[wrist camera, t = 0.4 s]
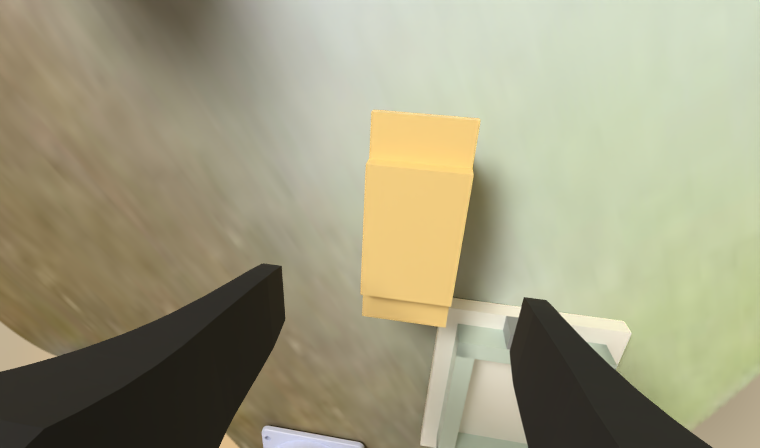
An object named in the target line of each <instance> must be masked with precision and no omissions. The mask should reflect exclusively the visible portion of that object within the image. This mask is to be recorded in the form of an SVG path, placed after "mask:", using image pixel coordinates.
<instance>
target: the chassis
mask: <svg viewBox="0 0 760 448" xmlns="http://www.w3.org/2000/svg"><path fill="white" fill-rule="evenodd" d="M520 310H521V307H518V306H510V305H503V304H496V303H488V302H481V301H473V300H466V299H459V298H453V299H452V304H451V307H449V310H448V316H447V322H446V328H445V327H437V333H436V340H435V346H434V353H433V359H432V365H431V372H430V378H429V384H428V391H427V397H426V403H425V410H424V416H423V422H422V429H421V441H420V445H423V446H428V447H434V448H528V445H527V441H526V437H525V433H524V429H523V425H522V421H521V416H520V412H519V408H518V404H517V400H516V396H515V391H514V387H513V380H512V372H511V362H510V348H511V344H512V340H513V337H514V333H515V329H516V325H517V322H518V318H519V314H520ZM558 313H559V314H560V315H561V316H562V317H563V318H564V319H565V320H566V321H567V322H568V323H569V324H570V325H571V326H572V327H573V329H574V330H575V331H576V332H577V333H578V334H579V335H580V336H581V337H582V338H583V339H584V340H585V341H586V342H587V343H588V344H589V345H590V346H591V347H592V348H593V349H594V350H595V351H596V352H597V353H598V354H599V355H600V356H601V357H602V358H603V359H604V360H605V361H606V362H607V363H608V364H609V365H610V366H611V367H613V368H614V369H615V370H616V368H617V365H618V363H619V361H620V359H621V357H622V354H623V352H624V350H625V348H626V345H627V343H628V341H629V339H630V336H631V334H632V333H631V331H630V329H629V328H628V326H627V325H626V323H625V322H624V321H621V320H613V319H606V318H599V317H591V316H584V315H577V314H569V313H562V312H558Z"/></svg>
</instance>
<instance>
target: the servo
mask: <svg viewBox="0 0 760 448" xmlns="http://www.w3.org/2000/svg"><path fill="white" fill-rule="evenodd" d="M479 127H480V119H479V118H468V117H456V116H444V115H432V114H420V113H408V112H396V111H384V110H373V111H372V112H371V133H370V155H369V160H368V162H367V163H366V174H365V198H364V222H363V246H362V270H361V295H363V309H362V316H368V317H375V318H382V319H389V320H396V321H403V322H410V323H417V324H424V325H431V326H438V327H445V328H446V322H447V316H448V310H449V307H451V304H452V299H453V293H454V287H455V281H456V275H457V270H458V264H459V258H460V252H461V246H462V240H463V235H464V229H465V223H466V217H467V211H468V206H469V200H470V194H471V188H472V182H473V177H474V174H473V169H472V168H473V162H474V156H475V150H476V144H477V139H478V133H479Z"/></svg>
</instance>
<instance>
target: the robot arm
mask: <svg viewBox="0 0 760 448" xmlns="http://www.w3.org/2000/svg"><path fill="white" fill-rule="evenodd" d="M284 321H285V307H284V293H283V279H282V266H278V265H270V264H261V265H259V266H257V267H255V268H253V269H251V270H249V271H248V272H246V273H244V274H242V275H241V276H239V277H237V278H235V279H234V280H232V281H230V282H228V283H227V284H225V285H223V286H221V287H220V288H218V289H216V290H214V291H213V292H211V293H209V294H207V295H206V296H204V297H202V298H200V299H198V300H196V301H194V302H192V303H190V304H188V305H186V306H184V307H182V308H181V309H179V310H177V311H175V312H173V313H171V314H169V315H166V316H164V317H162V318H160V319H158V320H156V321H153V322H151V323H149V324H146V325H144V326H142V327H139V328H137V329H135V330H132V331H130V332H127V333H125V334H122V335H119V336H116V337H114V338H111V339H108V340H105V341H102V342H100V343H97V344H94V345H91V346H89V347H86V348H83V349H80V350H77V351H74V352H70V353H67V354H64V355H61V356H57V357H54V358H51V359H47V360H44V361H40V362H37V363H33V364H29V365H26V366H22V367H18V368H15V369H10V370H6V371H2V372H0V448H219V446H220V444H221V442H222V439H223V437H224V435H225V433H226V431H227V429H228V427H229V425H230V423H231V421H232V419H233V417H234V415H235V414H236V412H237V410H238V408H239V407H240V405H241V403H242V401H243V400H244V398H245V396H246V395H247V393H248V391H249V389H250V388H251V386H252V384H253V383H254V381H255V379H256V378H257V376H258V374H259V372H260V371H261V369H262V367H263V365H264V364H265V362H266V360H267V358H268V357H269V355H270V353H271V351H272V350H273V348H274V345H275V343H276V341H277V338H278V336H279V334H280V331H281V329H282V326H283V324H284ZM510 362H511V372H512V380H513V387H514V391H515V396H516V400H517V404H518V408H519V412H520V416H521V421H522V425H523V429H524V433H525V437H526V441H527V445H528V448H712V447H711V446H710V445H708V444H707V443H705V442H704V441H703V440H701V439H700V438H698V437H697V436H696V435H694V434H693V433H691V432H690V431H689V430H687V429H686V428H685V427H683V426H682V425H681V424H679V423H678V422H677V421H675V420H674V419H673V418H671V417H670V416H669V415H668V414H666V413H665V412H664V411H663V410H661V409H660V408H659V407H658V406H656V405H655V404H654V403H653V402H651V401H650V400H649V399H648V398H647V397H645V396H644V395H643V394H642V393H641V392H639V391H638V390H637V389H636V388H635V387H634V386H632V385H631V384H630V383H629V382H628V381H627V380H626V379H625V378H624V377H622V376H621V375H620V374H619V373H618V372H617V371H616V370H615V369H614V368H613V367H611V366H610V365H609V364H608V363H607V362H606V361H605V360H604V359H603V358H602V357H601V356H600V355H599V354H598V353H597V352H596V351H595V350H594V349H593V348H592V347H591V346H590V345H589V344H588V343H587V342H586V341H585V340H584V339H583V338H582V337H581V336H580V335H579V334H578V333H577V332H576V331H575V330H574V329H573V327H572V326H571V325H570V324H569V323H568V322H567V321H566V320H565V319H564V318H563V317H562V316H561V315H560V314H559V313H558V312H557V311H556V309H555V308H554V307H553V306H552V305H551V304H550V303H549V302H548V301H547V300H541V299H533V298H525V297H524V299H523V303H522V307H521V310H520V314H519V318H518V322H517V325H516V329H515V333H514V337H513V340H512V344H511V348H510ZM262 439H263V447H264V448H364V445H363V444H362V443H360V442H356V441H351V440H345V439H340V438H334V437H329V436H323V435H318V434H312V433H307V432H301V431H296V430H290V429H285V428H279V427H274V426H265V427H264V428H263V430H262Z"/></svg>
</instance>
